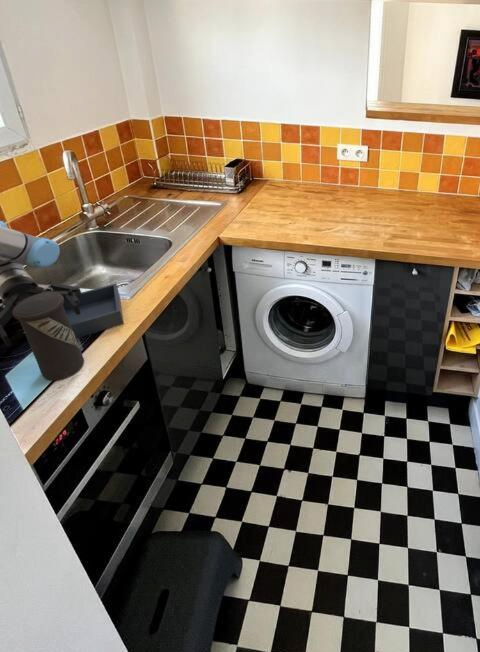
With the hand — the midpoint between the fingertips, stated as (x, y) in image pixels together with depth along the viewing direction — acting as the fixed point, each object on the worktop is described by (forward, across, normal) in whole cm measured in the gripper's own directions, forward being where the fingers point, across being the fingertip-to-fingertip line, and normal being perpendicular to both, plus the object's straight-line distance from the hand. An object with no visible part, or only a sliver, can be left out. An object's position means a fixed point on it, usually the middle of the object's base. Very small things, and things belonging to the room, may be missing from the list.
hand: (44, 324), depth 91 cm
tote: (-10, -11, -11) cm, 19 cm away
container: (+4, 0, -11) cm, 12 cm away
